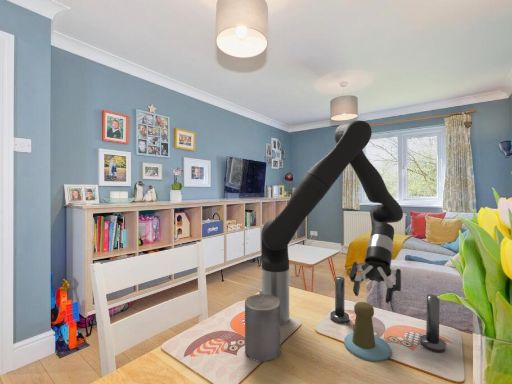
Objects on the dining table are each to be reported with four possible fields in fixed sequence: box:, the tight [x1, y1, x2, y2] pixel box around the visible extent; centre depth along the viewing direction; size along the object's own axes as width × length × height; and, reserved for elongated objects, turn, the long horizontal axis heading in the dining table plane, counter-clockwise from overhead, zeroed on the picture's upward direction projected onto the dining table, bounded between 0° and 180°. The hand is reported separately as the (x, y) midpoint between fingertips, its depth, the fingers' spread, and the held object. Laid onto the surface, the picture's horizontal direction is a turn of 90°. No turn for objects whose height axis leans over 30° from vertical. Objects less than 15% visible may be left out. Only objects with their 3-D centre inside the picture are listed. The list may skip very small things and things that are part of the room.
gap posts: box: [330, 276, 447, 354], centre depth 81 cm, size 32×6×14 cm, turn 55°
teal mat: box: [343, 332, 392, 362], centre depth 73 cm, size 12×12×1 cm
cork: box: [352, 301, 375, 349], centre depth 74 cm, size 6×6×11 cm
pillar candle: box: [244, 294, 281, 363], centre depth 71 cm, size 10×10×15 cm
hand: (371, 298), depth 77 cm, fingers open, 8 cm apart
